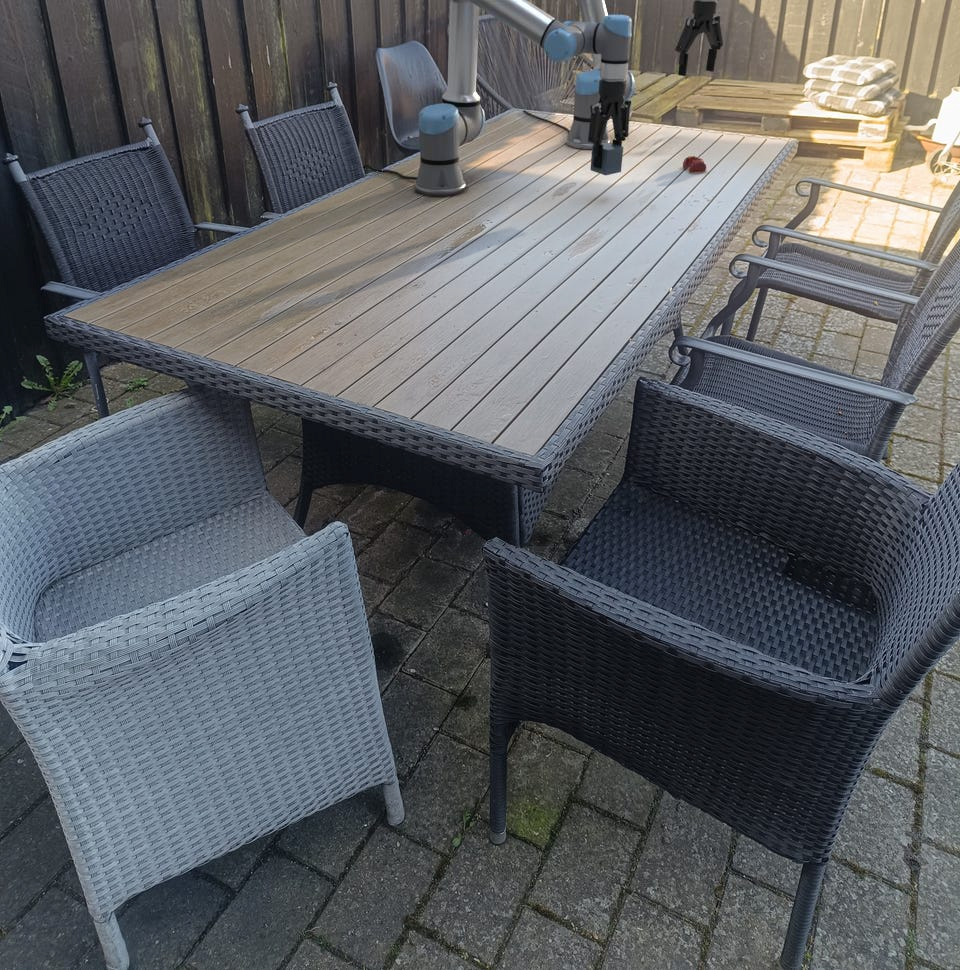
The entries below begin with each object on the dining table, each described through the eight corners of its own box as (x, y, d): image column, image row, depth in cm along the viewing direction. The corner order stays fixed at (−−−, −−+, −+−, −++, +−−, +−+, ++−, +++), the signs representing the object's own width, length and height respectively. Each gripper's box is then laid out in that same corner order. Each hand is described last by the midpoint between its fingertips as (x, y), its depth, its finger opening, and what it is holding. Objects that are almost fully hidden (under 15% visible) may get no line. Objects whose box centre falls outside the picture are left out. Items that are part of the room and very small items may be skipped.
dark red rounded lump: (697, 152, 277) (708, 159, 271) (696, 165, 280) (707, 172, 273) (682, 154, 276) (692, 161, 270) (680, 167, 279) (691, 174, 272)
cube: (621, 172, 246) (623, 146, 242) (605, 175, 243) (607, 150, 239) (605, 167, 250) (607, 142, 246) (590, 170, 247) (592, 145, 243)
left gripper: (628, 73, 239) (621, 157, 253) (577, 80, 230) (572, 168, 244) (647, 77, 234) (638, 163, 248) (596, 85, 225) (589, 174, 239)
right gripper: (722, -4, 276) (712, 67, 288) (669, 1, 264) (661, 75, 276) (740, -2, 271) (729, 70, 284) (687, 3, 259) (678, 79, 272)
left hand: (605, 165), depth 246 cm, fingers closed on cube, 6 cm apart
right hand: (695, 73), depth 280 cm, fingers open, 13 cm apart
